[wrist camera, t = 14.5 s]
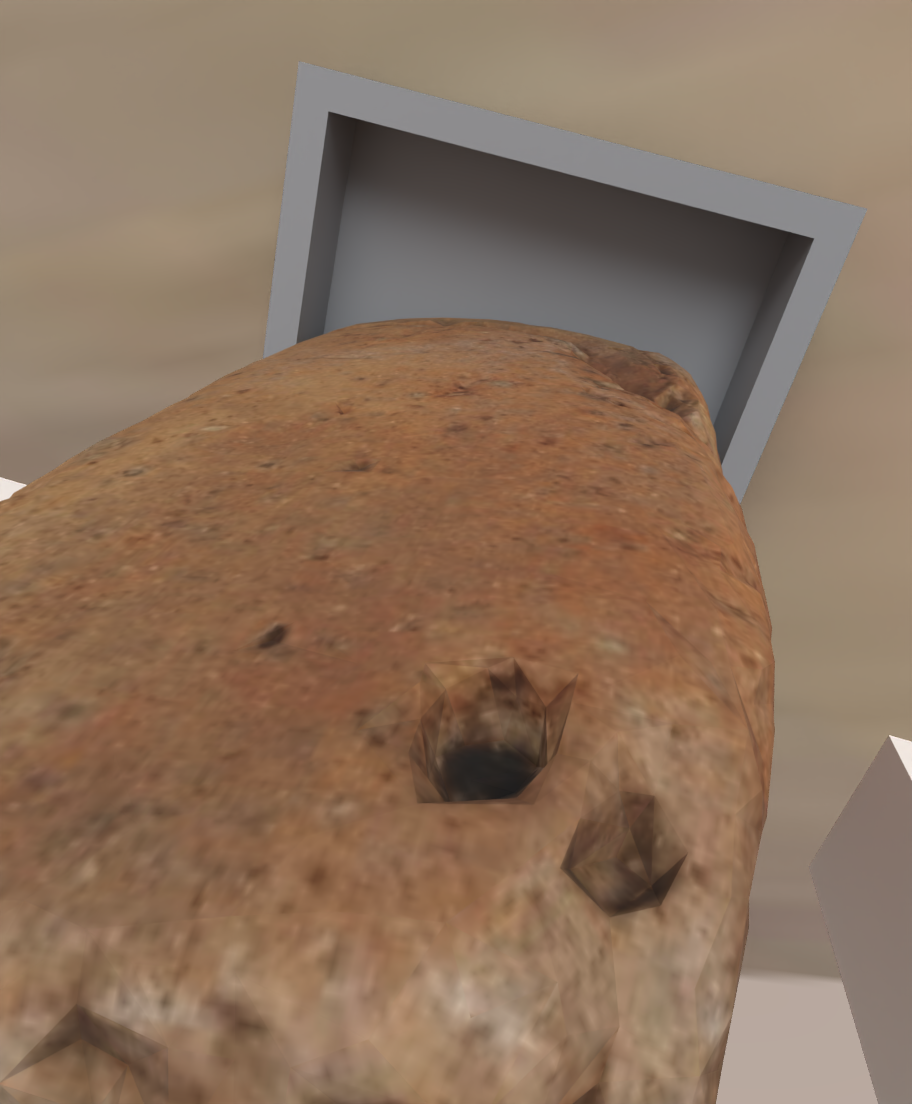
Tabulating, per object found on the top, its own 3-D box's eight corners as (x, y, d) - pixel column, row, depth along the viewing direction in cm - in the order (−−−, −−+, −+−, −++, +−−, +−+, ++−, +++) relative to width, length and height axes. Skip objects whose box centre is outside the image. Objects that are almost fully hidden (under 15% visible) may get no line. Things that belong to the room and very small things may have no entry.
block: (333, 548, 25) (-357, 1430, 8) (311, 300, 22) (-955, 823, 4) (690, 573, 23) (878, 1833, 6) (722, 305, 20) (1374, 1267, 3)
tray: (830, 202, 20) (867, 209, 17) (626, 700, 27) (629, 759, 24) (338, 75, 20) (299, 61, 18) (264, 596, 27) (228, 643, 25)
